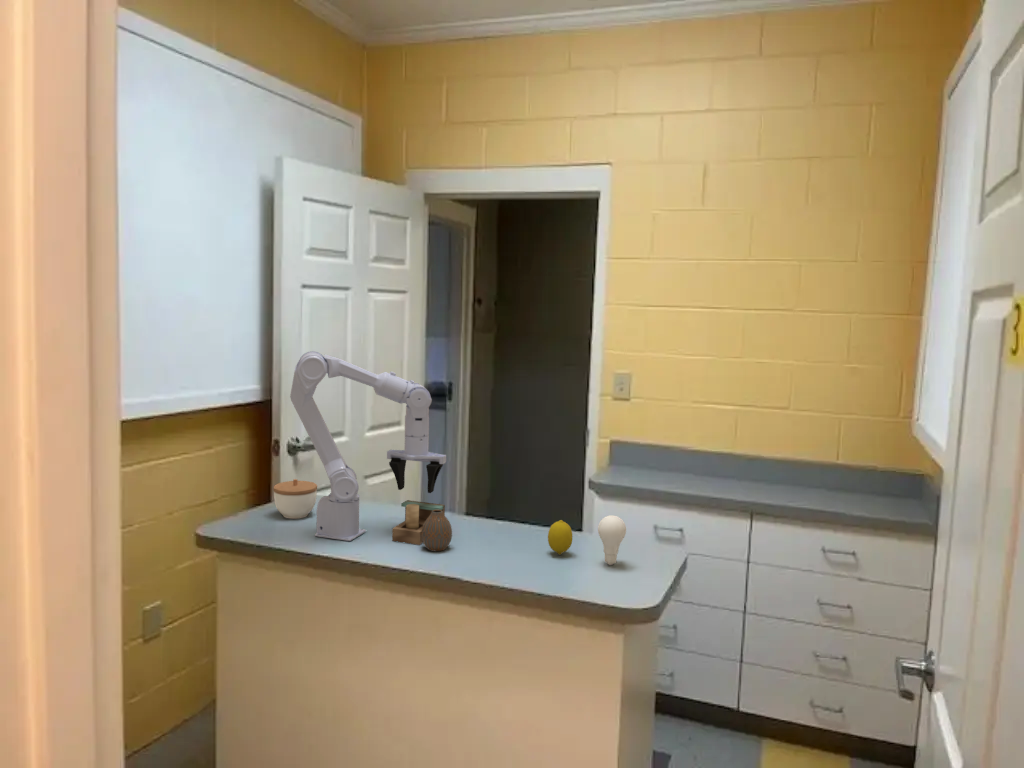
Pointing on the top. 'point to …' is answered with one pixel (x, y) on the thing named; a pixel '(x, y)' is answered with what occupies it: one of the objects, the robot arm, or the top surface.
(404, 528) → the brown boxy frame piece
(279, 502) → the lidded jar
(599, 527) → the lightbulb
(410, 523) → the oak peg
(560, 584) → the top surface
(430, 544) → the vase
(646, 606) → the top surface
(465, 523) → the top surface
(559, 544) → the lemon
